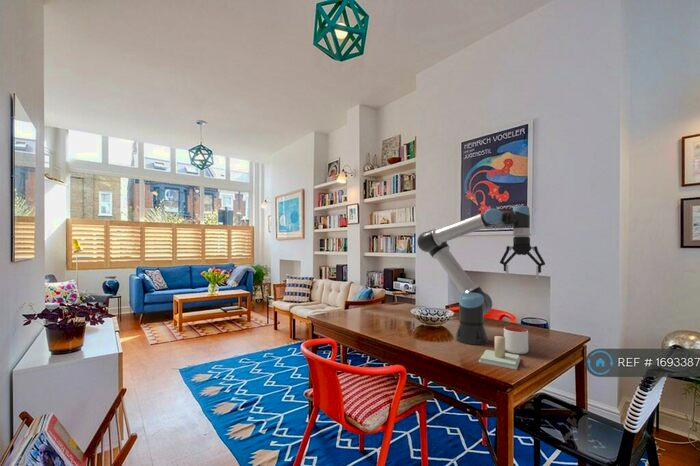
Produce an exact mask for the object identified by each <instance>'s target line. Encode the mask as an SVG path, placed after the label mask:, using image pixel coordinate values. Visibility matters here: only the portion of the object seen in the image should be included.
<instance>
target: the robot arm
mask: <svg viewBox="0 0 700 466" xmlns="http://www.w3.org/2000/svg"><path fill="white" fill-rule="evenodd" d="M530 223H531V214H530V207H529V206H527V205H518V206H517V205H516V206H513V208H512V210H499V209H498V208H493V207H492V208H488V209H487V210H485V212H482V213H480V214H479V213H478V214H476V215H474V216H471V217H468V218H466V219H462V220H460V221H458V222H455V223H452V224H450V225H447V226H444V227H441V228H438V229H435V228H433V229H431V230H428V231H424V232H422V233H420V234H419V235H418V237H417V241H416V242H417V243H416V245H417V246H418V248H419V249H420V250H421V251H422V252H425V253H428V254H429V255H430V256H431V258H433V259H435V260H437V261H438V263H439V264H440V266H441V267H442V268H443V270H444V271H445V273H446V275H448V277H449V279H450V280H451V281H452V283H454V285H455V286H456V288H457V289H458V291H459V292H460V293H461V294H460V295H459V299H458V304H459V305H458V306H459V307H458V310H459V311H458V312H459V315H458V316H459V320H458V321H459V323H458V324H459V325H458V327H457V330H456V333H455V340H456V341H457V342H460V343H463V344H466V345H467V344H468V345H486V344H488V341H489V339H488V335H487V331H486V328H485V327H484V326H485V325H484V323H485V322H484V321H485V319H484V318H485V317H484V315H486V314H488V313H490V311H491V310H492V307H493V299H492V298H491V296H490V295H489V294H488V293H486V292H484V291H483V289H482V288H481V287H480V286H479V285H475V283H474V282H473V281H472V279H471V278H470V277H469V275H468V273H466V271H465V270H464V269H463V267H462V266H461V265H460V263H459V262H458V261H457V259H456V258H455V257H454V256H453V254H452V252H451V251H450V246H449V244H448V242H449V241H451V240H454V239H457V238H460V237H463V236H465V235H468V234H471V233H475V232H477V231H481V230H483V229H485V228H488V227H493V226H494V227H497V226H499V227H500V226H501V227H502V226H513V227H512V229H513V230H512V233H513V234H512V235H513V238H512V240H513V243H512V244H513V246H510V245H507V246H506V247H505V248H506V250H505V252H504V253H503V255H502V257H501V259H500V261H499V264H502V265H503V272H505V278H506V279H509V262H510V261H512V259H513V258H515V256H516V255H517V256H521V255H522V256H526V255H527V256H528V257H529V258H530V259H531V260H532V261H533V262H534V263H535V264H536V267H535V268H536V269H535V273H536V274H535V277H536V280H537V281H538V280H539V279H540V278H539V274H540V273H542V266H545V265H546V263H545V260H544V259H543V257H542V255H541V253H540V251H539V250H538V246H537V245H536V246H531V238H530V235H531V224H530ZM511 250H513V253H512V254H511V255H510V256H509V257H508V258H507V256H508V254H509V253H510V251H511ZM531 250H532V251H534V252H535V254H536V256H537V258H538V259H539V260H537V258H535V257H534V255H533V254H532V253H531V252H530V251H531ZM506 258H507V259H506Z"/></svg>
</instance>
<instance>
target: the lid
mask: <svg viewBox="0 0 700 466" xmlns="http://www.w3.org/2000/svg"><path fill="white" fill-rule="evenodd" d="M519 358H520V354H515V353H510V352H506V350H505V337H504V336H502V335H495V336H494V350H490V349H485V351H484V352H483V353H482V355H481V356H480V358H479V360H480V361H483V362H489V363H494V364H499V365H504V366H510V367H516V365H517V362H518V360H519Z"/></svg>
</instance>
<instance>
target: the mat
mask: <svg viewBox="0 0 700 466" xmlns="http://www.w3.org/2000/svg"><path fill="white" fill-rule="evenodd" d="M521 360H522V358H521V357H519V360H518V362H517V365H516V367H510V366H504V365H499V364H494V363H489V362H483V361H480V359H479V360H478V363H479V364H484V365H489V366H495V367H500V368H506V369H511V370H515V371H517V370H518V367H519V364H520V362H521Z"/></svg>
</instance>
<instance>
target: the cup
mask: <svg viewBox="0 0 700 466" xmlns="http://www.w3.org/2000/svg"><path fill="white" fill-rule="evenodd" d="M503 337H505V352H507V353H509V354H515V355H525V354H527V353H528V352H529V331H528V329H526V328H523V327H519V326H505V327H503Z"/></svg>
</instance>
